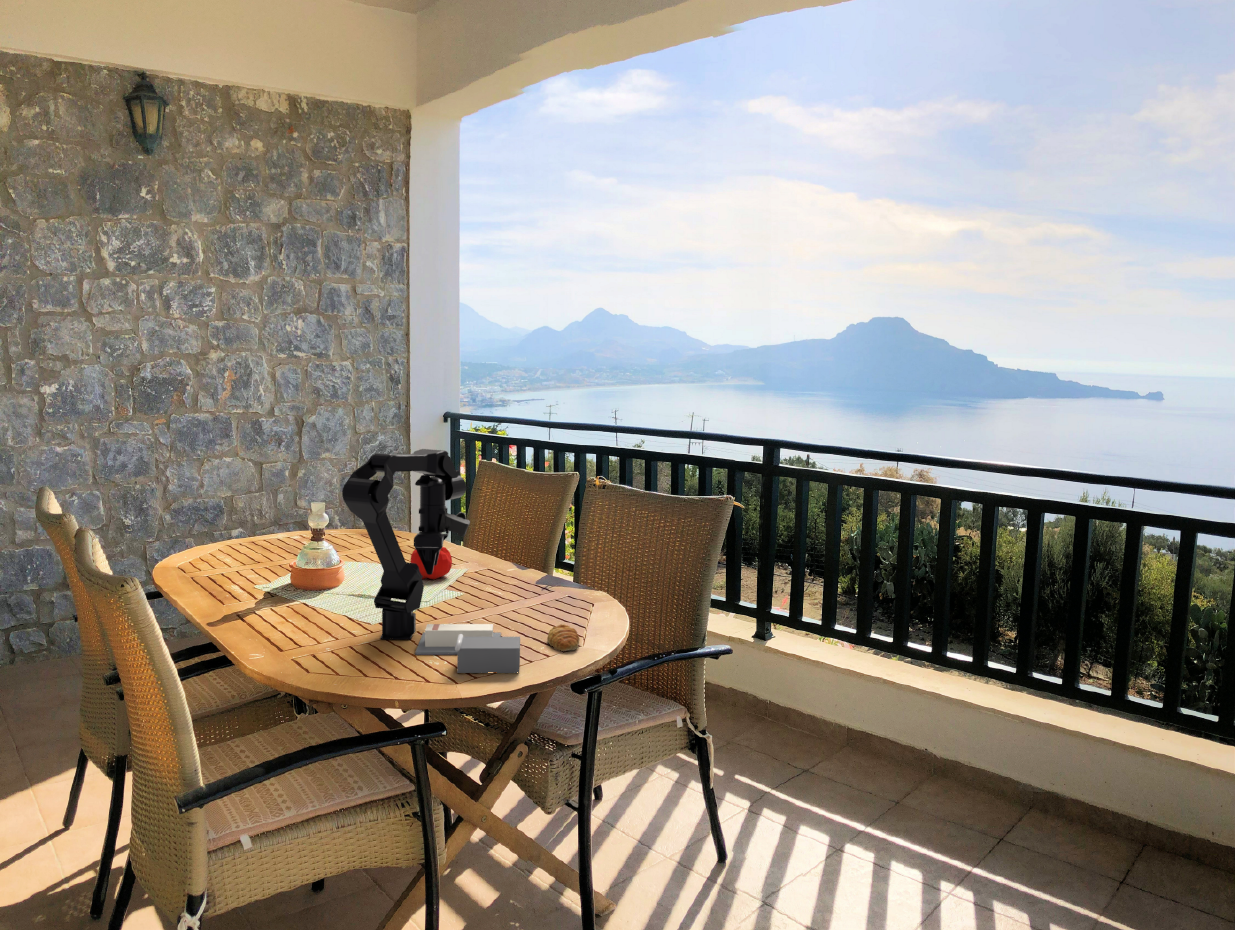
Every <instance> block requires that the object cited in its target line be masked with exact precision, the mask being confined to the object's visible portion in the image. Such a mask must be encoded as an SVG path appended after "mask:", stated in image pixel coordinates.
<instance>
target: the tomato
mask: <svg viewBox="0 0 1235 930" xmlns="http://www.w3.org/2000/svg"><path fill="white" fill-rule="evenodd" d="M409 563H416V564H417V565H418V567H419V570H420V573H421V575H422V576H423V578H421V579H422V580H426V579H430V580H436V579H438V578H443V577H444V576H446V575H448V574H450V571H451V569H452V568H453V567H452V565H453V559H452V555H451V552H450V551H449V550H448V549H447V547H445V546H443V547H442V549H441V550H440V552H439V557H438V561H437V565H434V568H433V573H432V575H428V574H427V573H426V570H425V568H424V566H423V563H422V561H421V559H420V557H419V555H418V553H417V550H416V549H415V548H414V550H413V551H412V553H411V555H410V561H409Z"/></svg>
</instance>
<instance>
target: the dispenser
mask: <svg viewBox="0 0 1235 930" xmlns="http://www.w3.org/2000/svg"><path fill="white" fill-rule="evenodd" d="M455 650H456V651H458V653H457V655H456V656H457V660H456V661H457V664H456V665H457V668H456V669H457V672H456V674H457V673H488V672H497V673H517V672H518V673H519V674H520V663H521V636H501V637H463V635H462V634H459V635H458V639H457V642H456V646H455Z"/></svg>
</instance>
